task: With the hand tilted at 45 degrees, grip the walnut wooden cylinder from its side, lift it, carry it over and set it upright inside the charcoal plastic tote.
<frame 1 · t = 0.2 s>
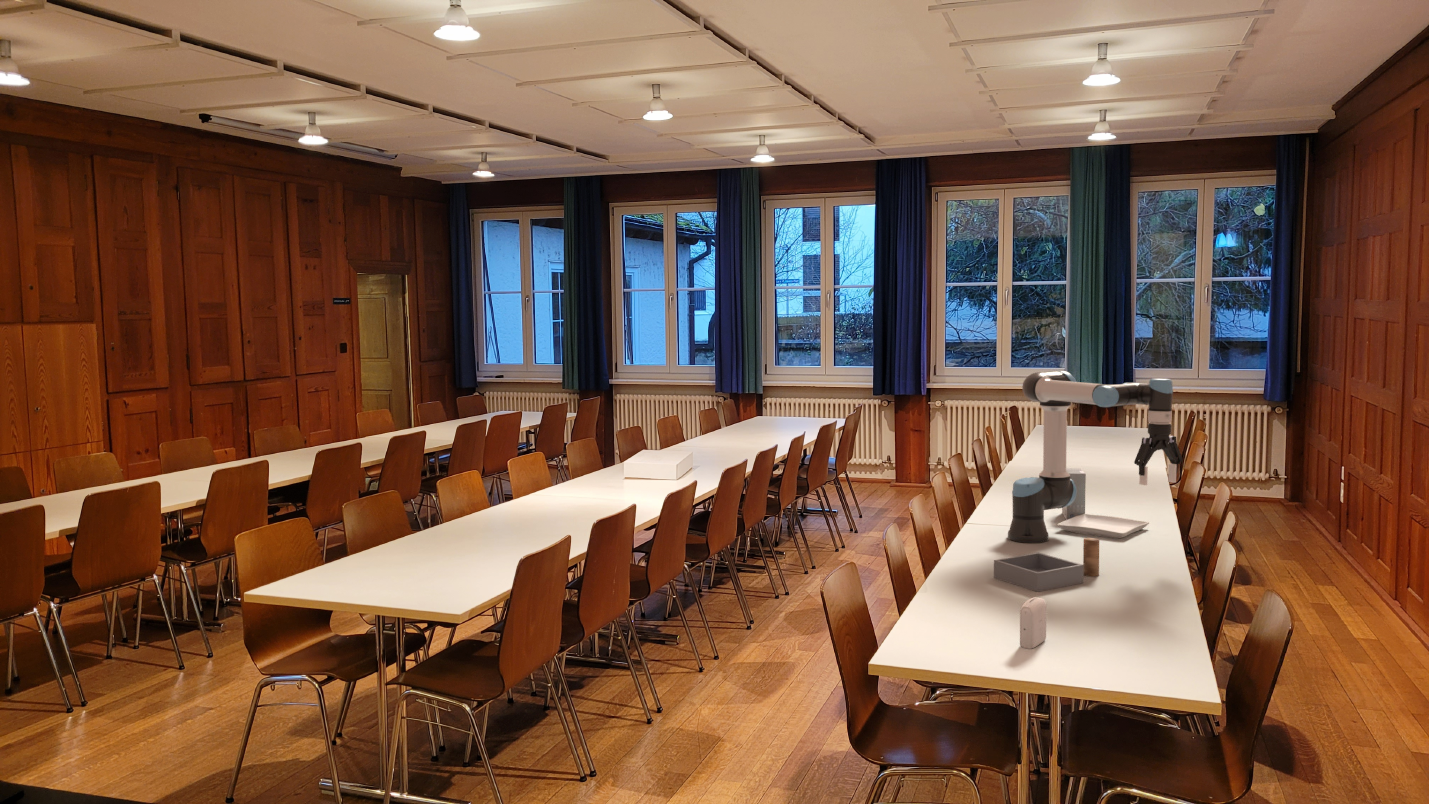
hand: (1157, 483, 357), 28 cm above the table, tool pointing down, fingers open, 13 cm apart
photo printer: (1033, 644, 277), on the table
walnut cylinder: (1091, 574, 345), on the table
hard drive box: (1073, 517, 436), on the table
tote: (1038, 580, 339), on the table
square plate: (1102, 531, 410), on the table
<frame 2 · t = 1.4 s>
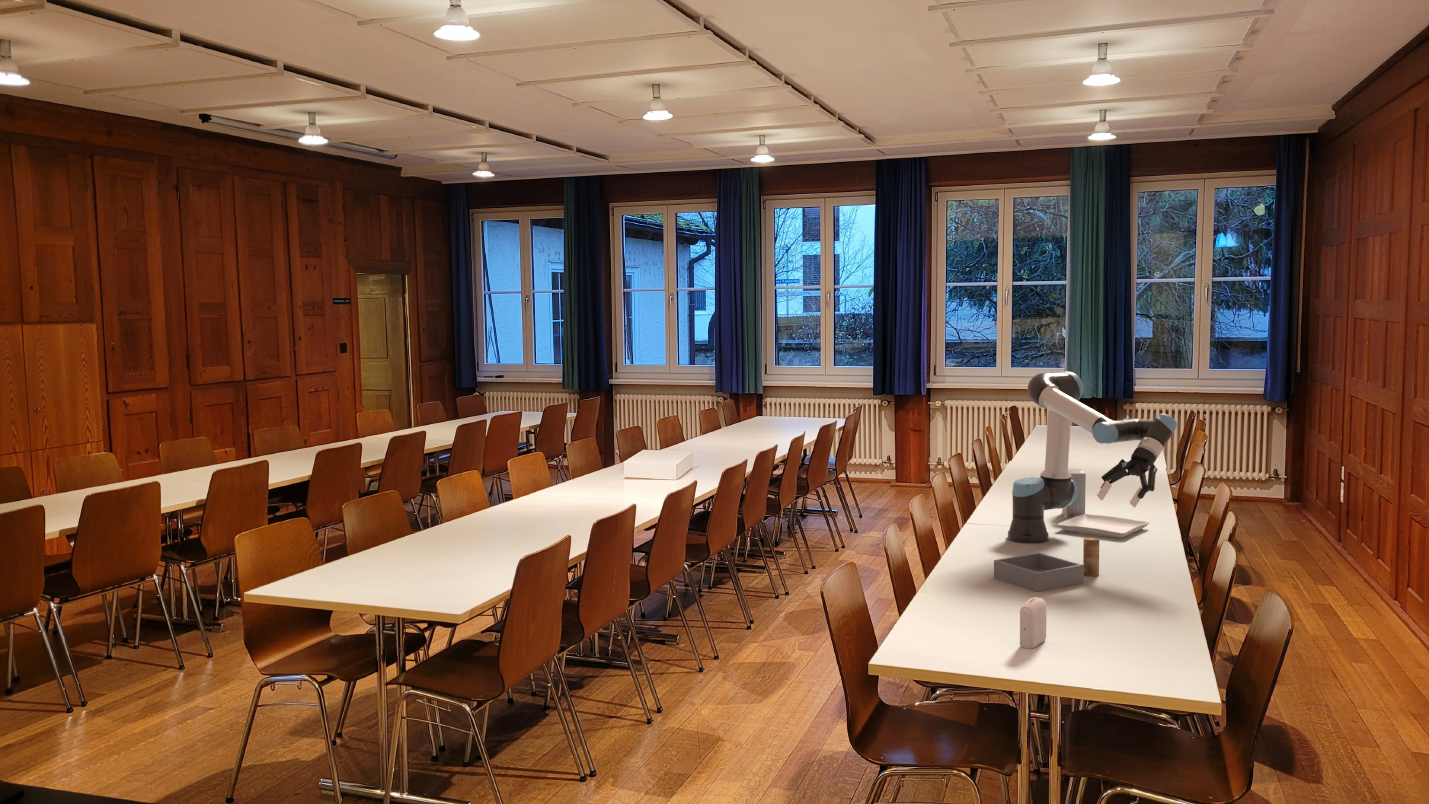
hand: (1115, 501, 348), 24 cm above the table, tool tilted 45°, fingers open, 13 cm apart
nothing on the table moved.
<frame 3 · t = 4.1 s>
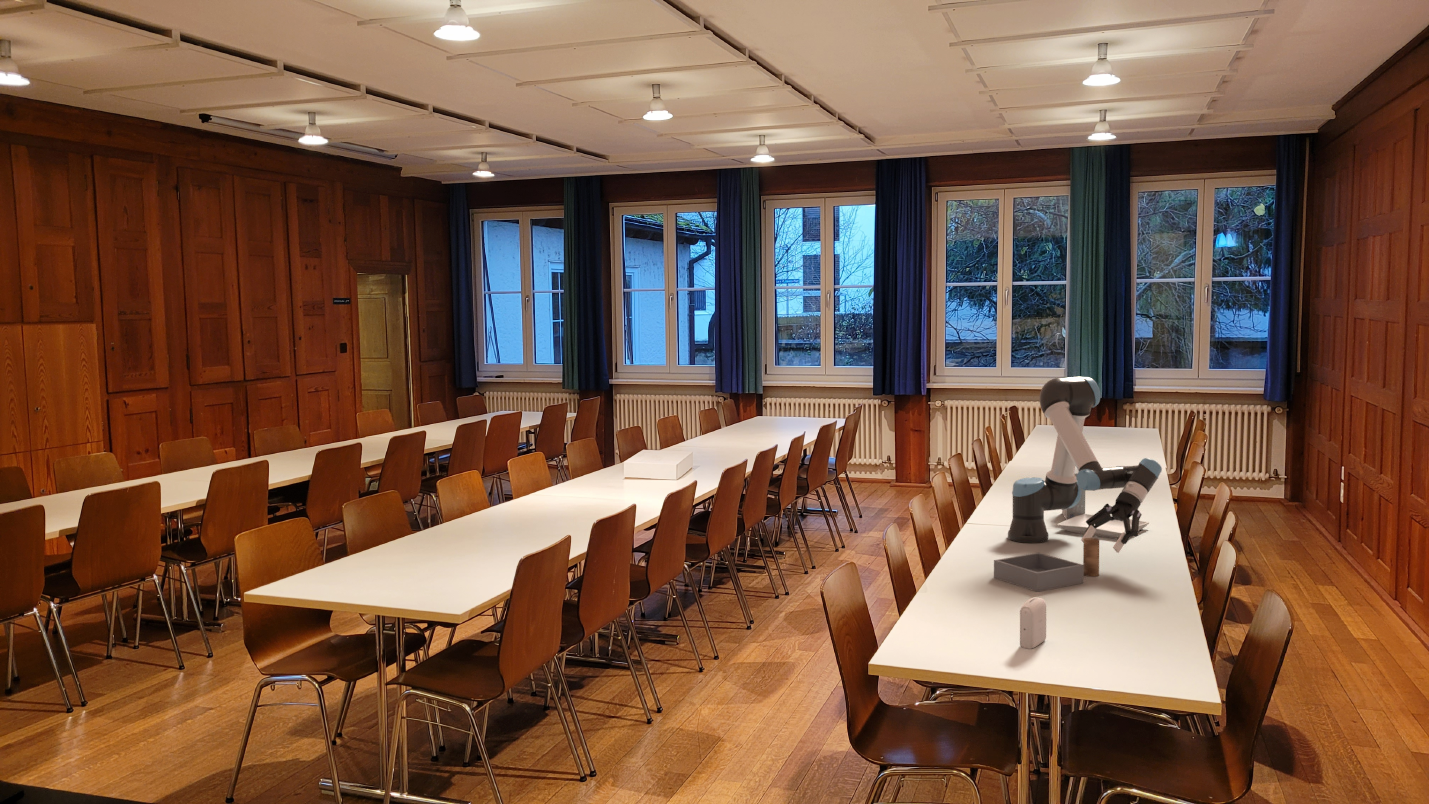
hand: (1099, 546, 345), 9 cm above the table, tool tilted 45°, fingers open, 13 cm apart
nothing on the table moved.
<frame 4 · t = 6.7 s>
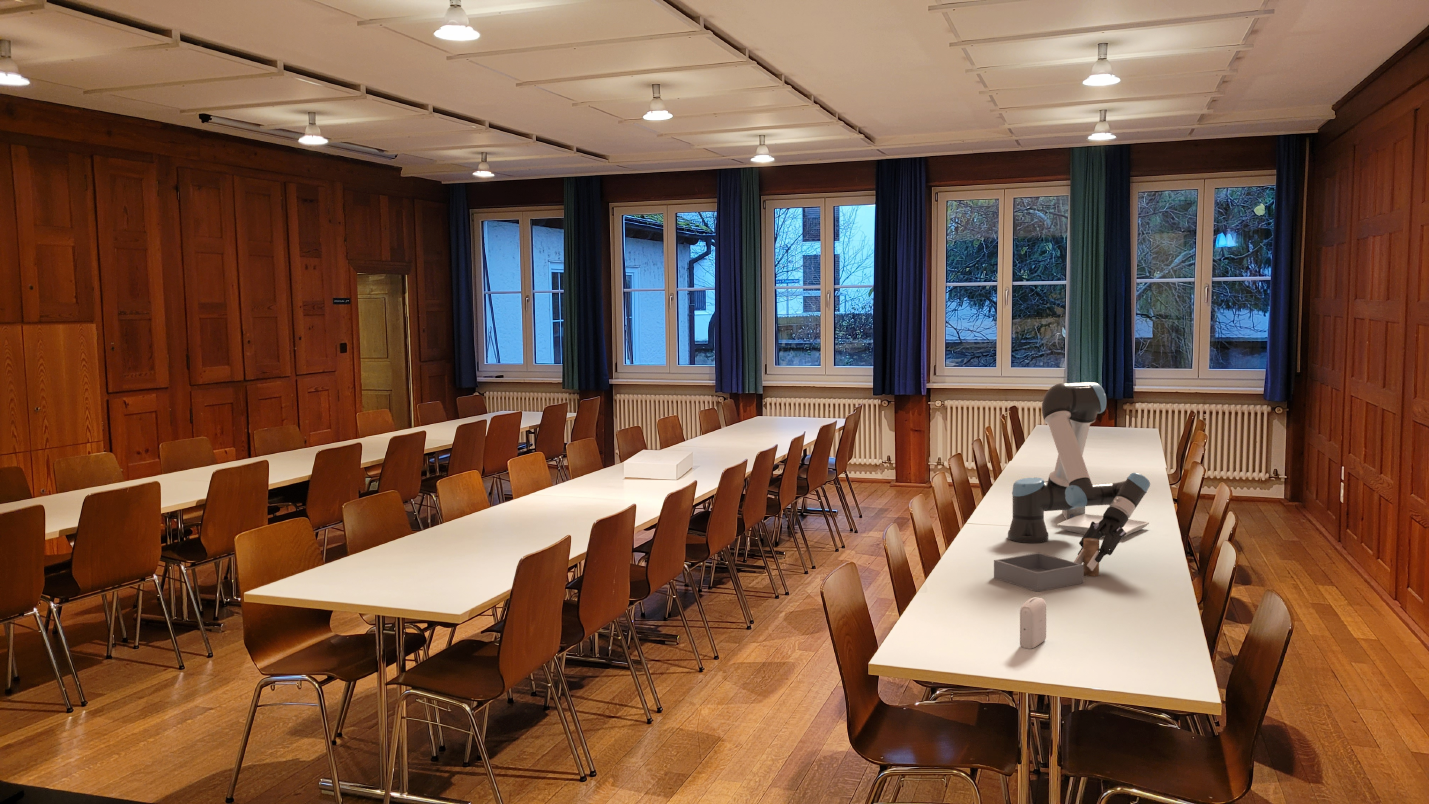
hand: (1083, 566, 343), 3 cm above the table, tool tilted 45°, fingers closed on walnut cylinder, 5 cm apart
walnut cylinder: (1091, 574, 345), on the table, touching gripper
everything else where it was.
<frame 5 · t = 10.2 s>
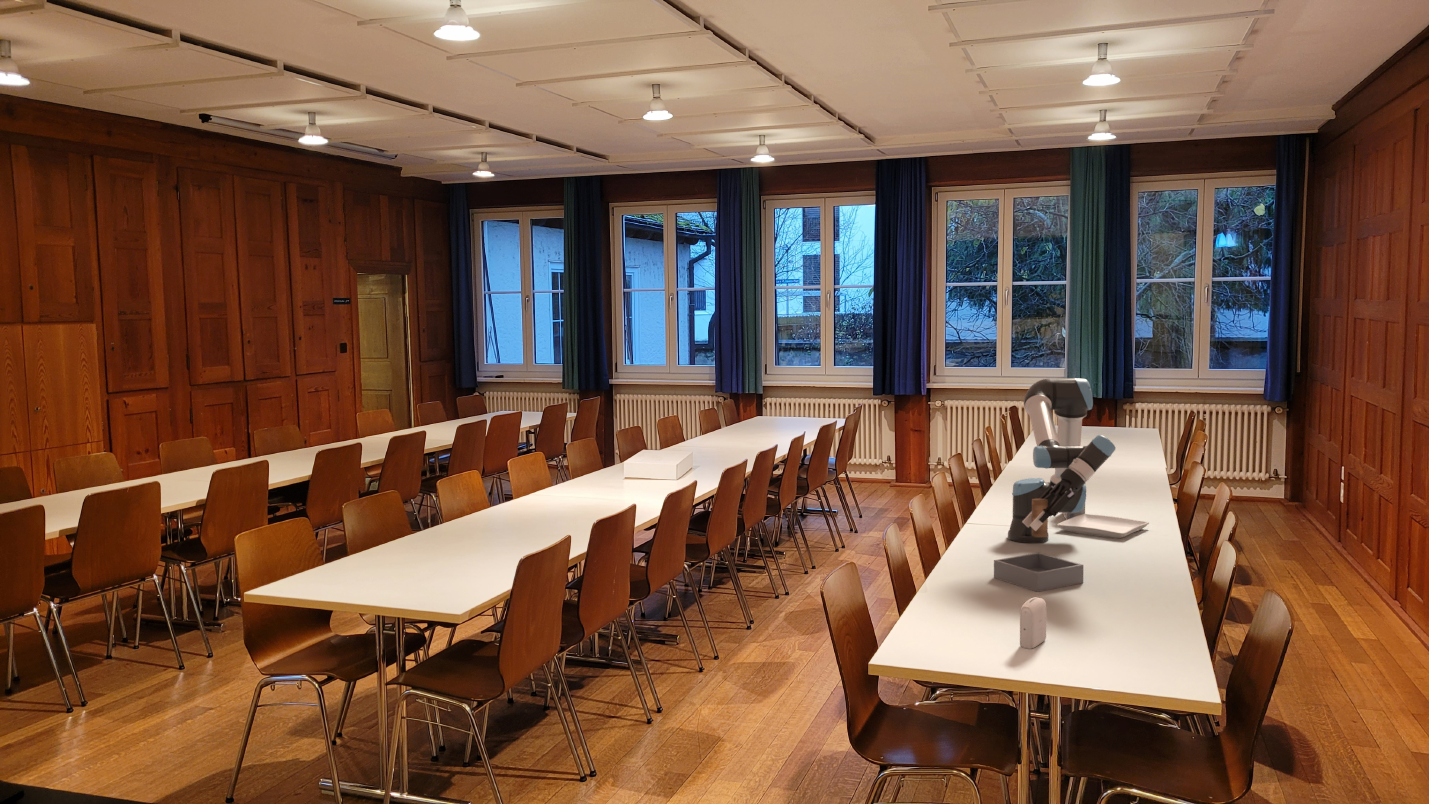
hand: (1028, 526, 337), 18 cm above the table, tool tilted 45°, fingers closed on walnut cylinder, 5 cm apart
walnut cylinder: (1039, 535, 338), point 15 cm above the table, touching gripper
everything else where it was.
when the fingers open (5 cm above the table, at t = 14.0 s): walnut cylinder stays where it is, resting on tote.
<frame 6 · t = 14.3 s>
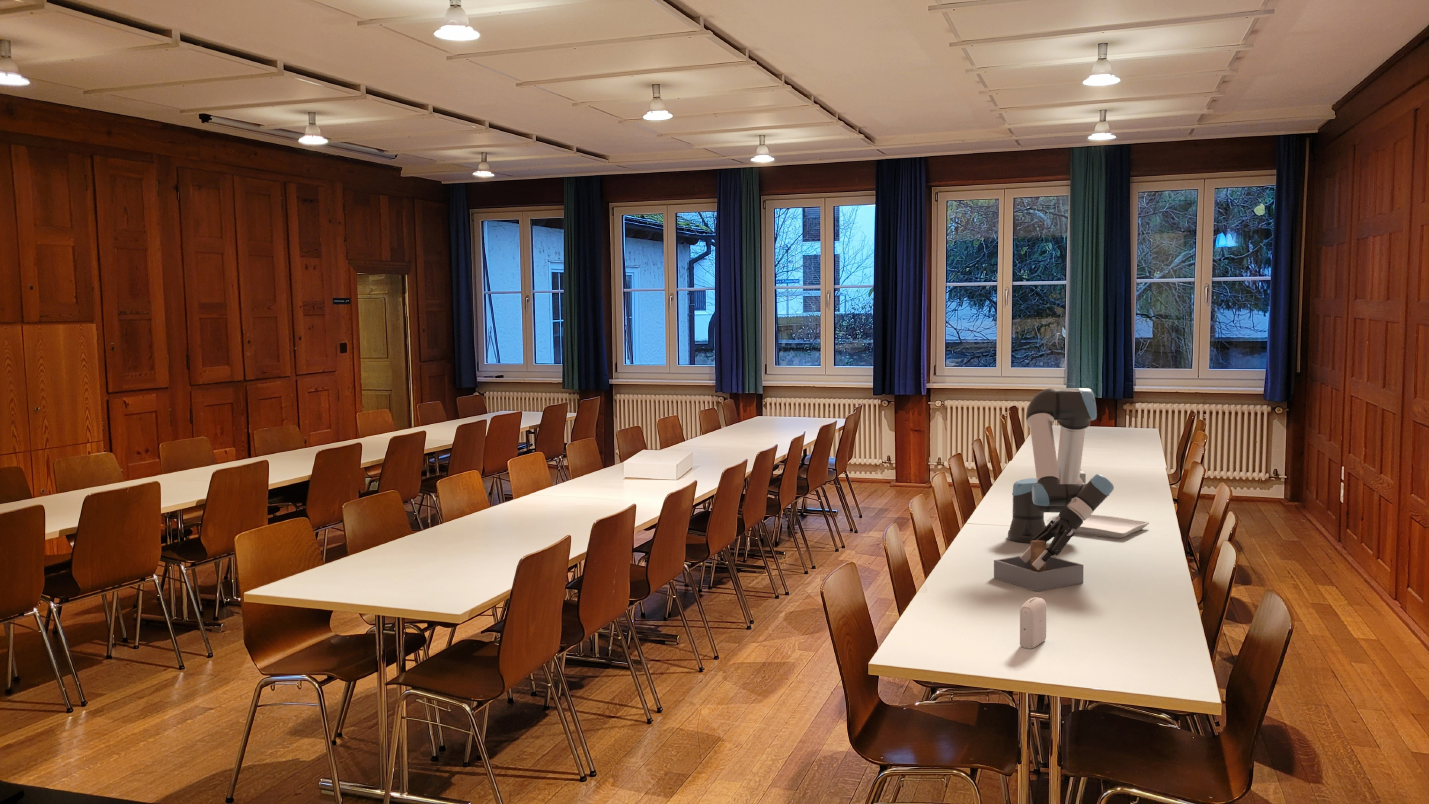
hand: (1028, 563, 338), 6 cm above the table, tool tilted 45°, fingers open, 9 cm apart
walnut cylinder: (1038, 577, 339), point 1 cm above the table, touching tote
everything else where it was.
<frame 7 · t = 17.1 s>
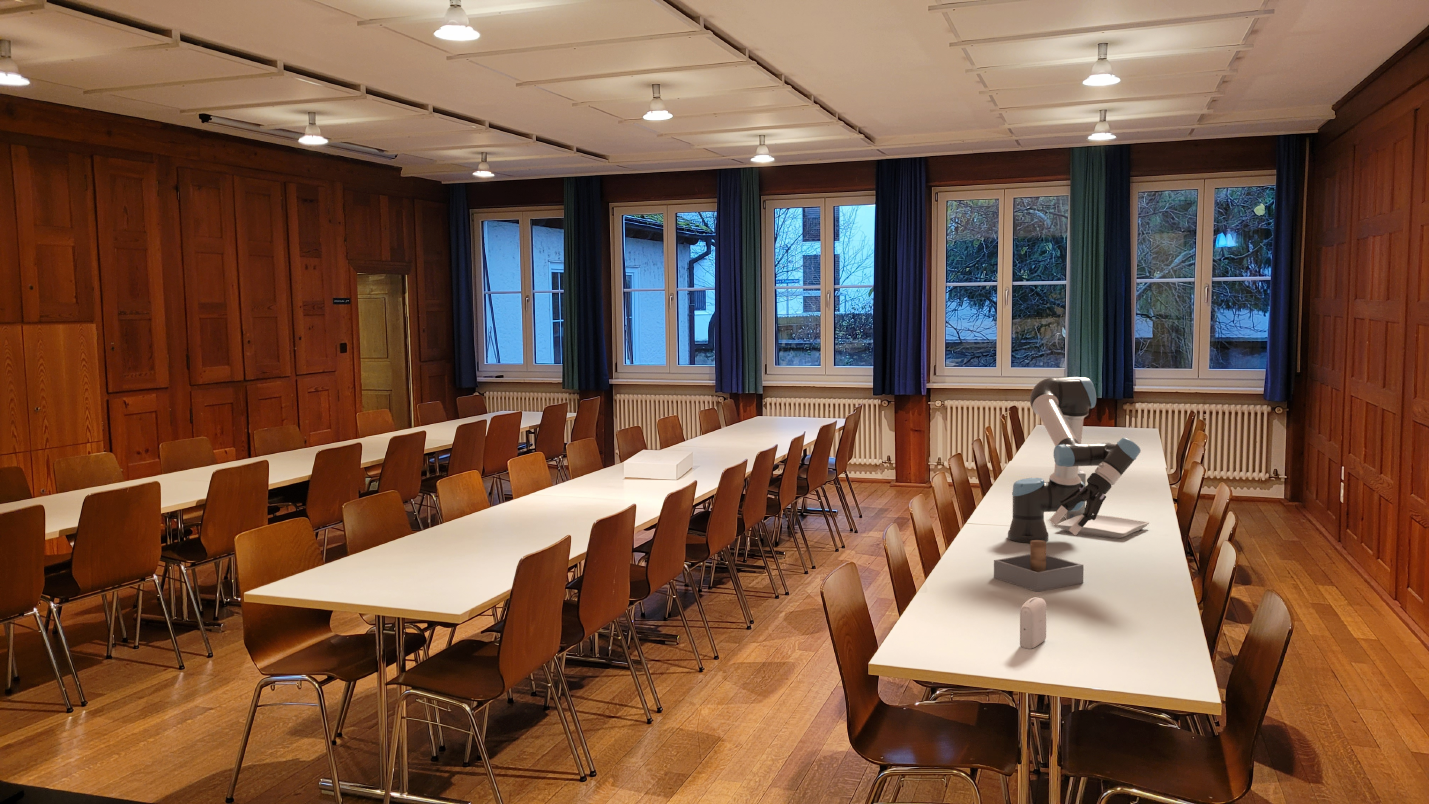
hand: (1061, 527, 340), 17 cm above the table, tool tilted 40°, fingers open, 13 cm apart
nothing on the table moved.
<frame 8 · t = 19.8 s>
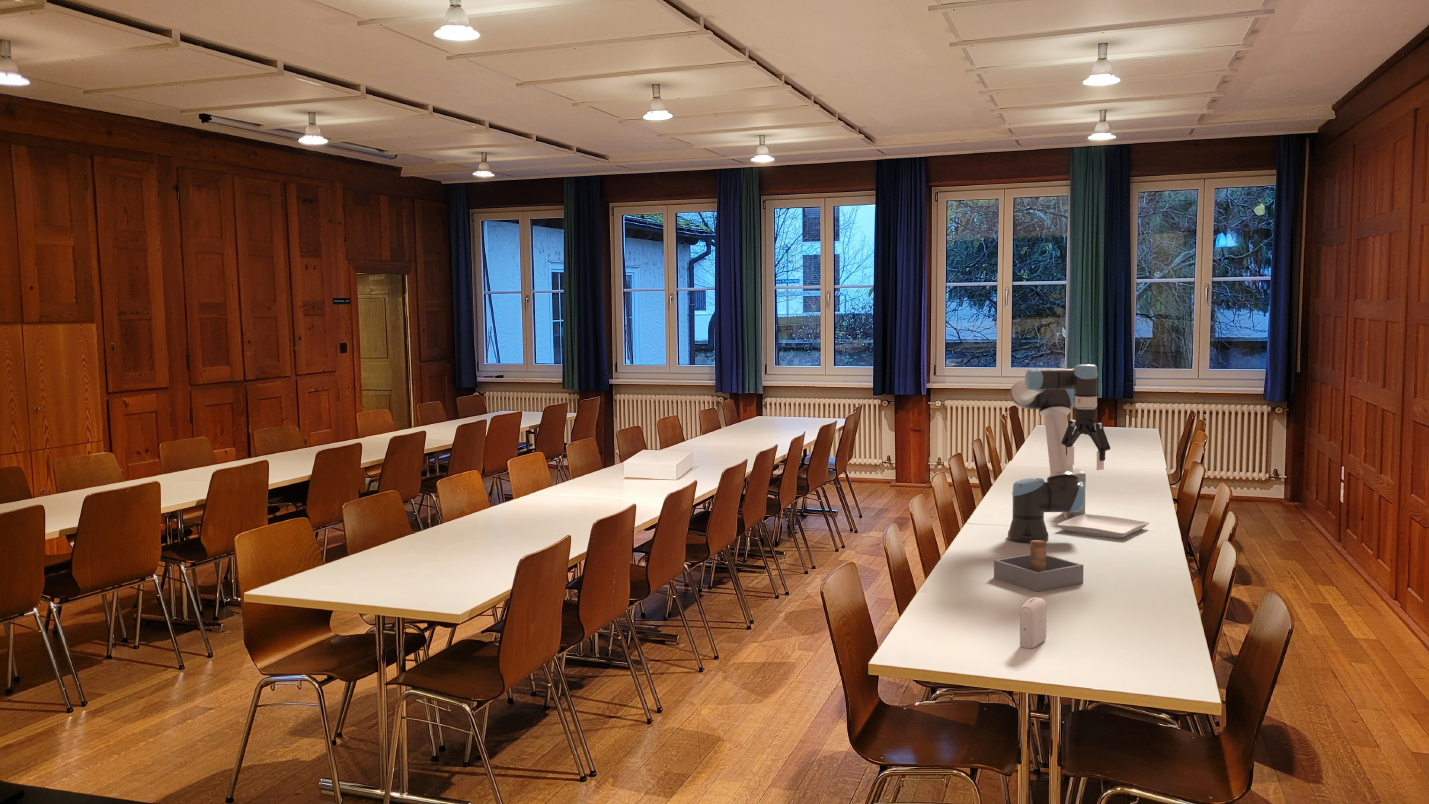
hand: (1085, 467, 365), 33 cm above the table, tool pointing down, fingers open, 13 cm apart
nothing on the table moved.
at the end: walnut cylinder inside the target area on the tote (0.0 cm from its centre), point 1.0 cm above the tote's base; walnut cylinder tilted 0°; the gripper is holding nothing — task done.
